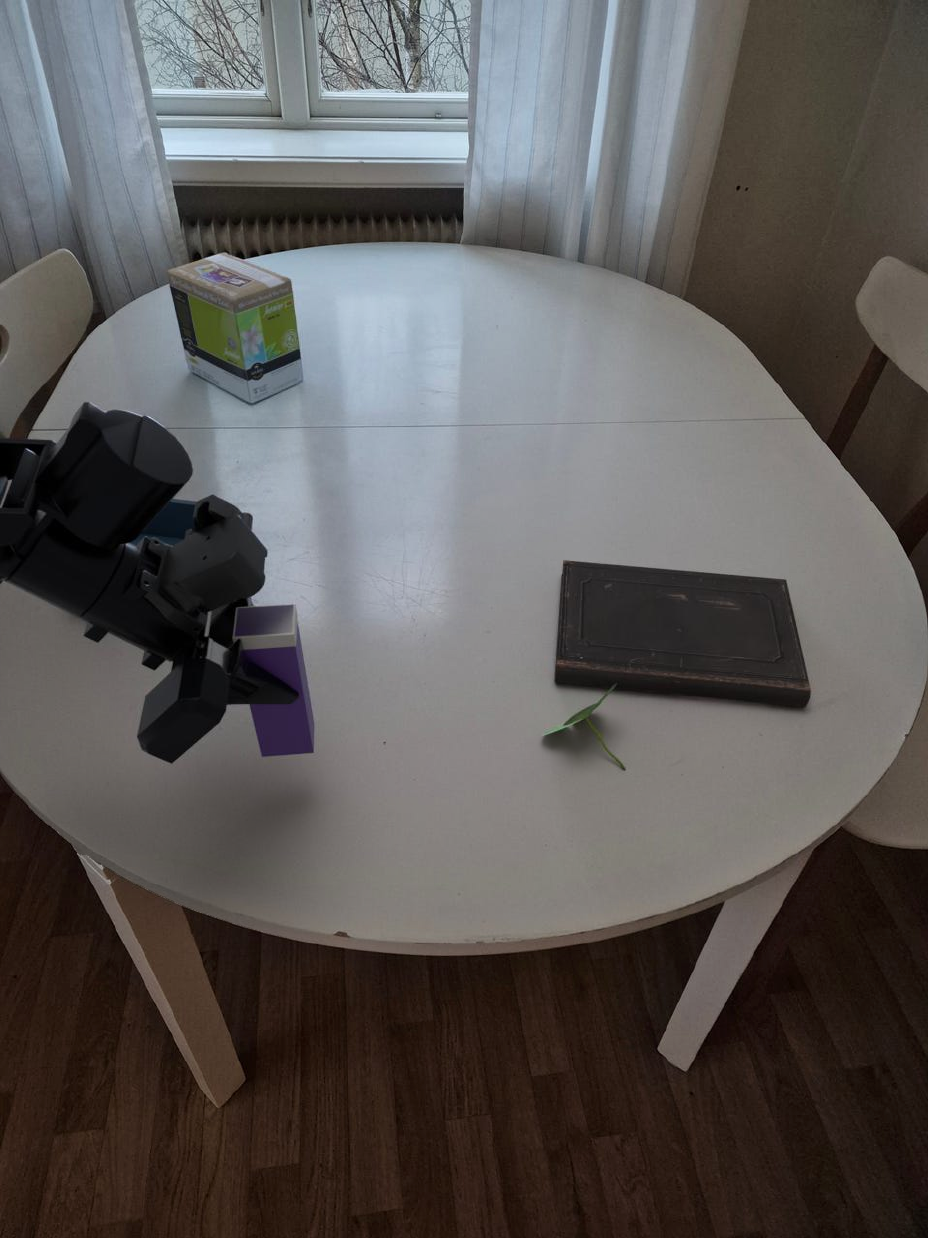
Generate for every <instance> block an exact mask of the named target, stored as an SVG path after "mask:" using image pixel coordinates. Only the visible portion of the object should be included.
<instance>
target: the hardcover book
mask: <svg viewBox="0 0 928 1238" xmlns="http://www.w3.org/2000/svg"><path fill="white" fill-rule="evenodd" d="M560 577H561V578H560V591H559V605H558V606H559V607H558V620H557V621H558V622H557V637H556V650H555V665H554V679H553V680H554V683H556V684H564V685H565V684H566V685H574V686H575V685H576V686H584V687H585V686H586V687H597V688H606V689H607V688H608V689H611V688H612V687H613V686H614V685H615V684H616V683H617V684H616V686H615V687H614V688H613V689H617V690H625V691H637V692H647V693H655V694H656V693H657V694H665V695H666V694H667V695H677V696H688V697H697V698H698V697H699V698H707V699H708V698H709V699H716V700H717V699H718V700H728V701H737V702H747V703H748V702H749V703H758V704H768V705H779V706H788V707H790V706H791V707H798V708H806V707H807V706H808V704H809V702H810V700H811V695H812V694H811V693H812V690H811V683H810V680H809V676H808V671H807V666H806V662H805V658H804V653H803V649H802V644H801V639H800V636H799V630H798V626H797V622H796V617H795V613H794V609H793V608H794V607H793V603H792V598H791V595H790V591H789V586H788V581H787V579H785V578H772V577H761V576H750V575H739V574H728V573H727V574H726V573H716V572H715V573H714V572H705V571H692V570H681V569H680V570H679V569H670V568H658V567H647V566H635V565H624V564H611V563H602V562H601V563H600V562H590V561H589V562H588V561H577V560H569V559H568V560H567V559H563V560H562V572H561V576H560Z"/></svg>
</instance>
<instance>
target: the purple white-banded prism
mask: <svg viewBox="0 0 928 1238" xmlns="http://www.w3.org/2000/svg"><path fill="white" fill-rule="evenodd" d="M298 617H299V616H298V609H297V604H296V603H283V604H270V605H268V604H267V605H266V604H265V605H254V606H250V607H237V608H236V613H235V621H234V629H233V637H232V639H233V643H234V642H235V641H237V640H238V639H239V638H240V639H241V640H242V644H243V647H244V651H245V655H246V658H247V659H248V660H249V661H251V662H252V663H254V664H256V665H257V666H259V667H261V668H262V669H264V670H266V671H267V672H269V673H271V674H272V675H274V676H275V677H277V678H279V679H280V680H282V681H284V682H285V683H287V684H288V685H289V686H290V687H292V688H293V689H294V690H296V691H297V692H298V693H299V698H298V699H297V700H296V701H295V702H293V703H292V704H248V706H249V709H250V713H251V714H250V715H251V717H252V722H253V725H254V730H255V735H256V738H257V742H258V747H259V752H260V756H261V757H262V758H265V757H267V758H268V757H279V756H293V755H303V754H313V753H314V752H315V718H314V712H313V706H312V701H311V693H310V688H309V682H308V675H307V669H306V663H305V657H304V651H303V645H302V639H301V634H300V627H299V620H298Z"/></svg>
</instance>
